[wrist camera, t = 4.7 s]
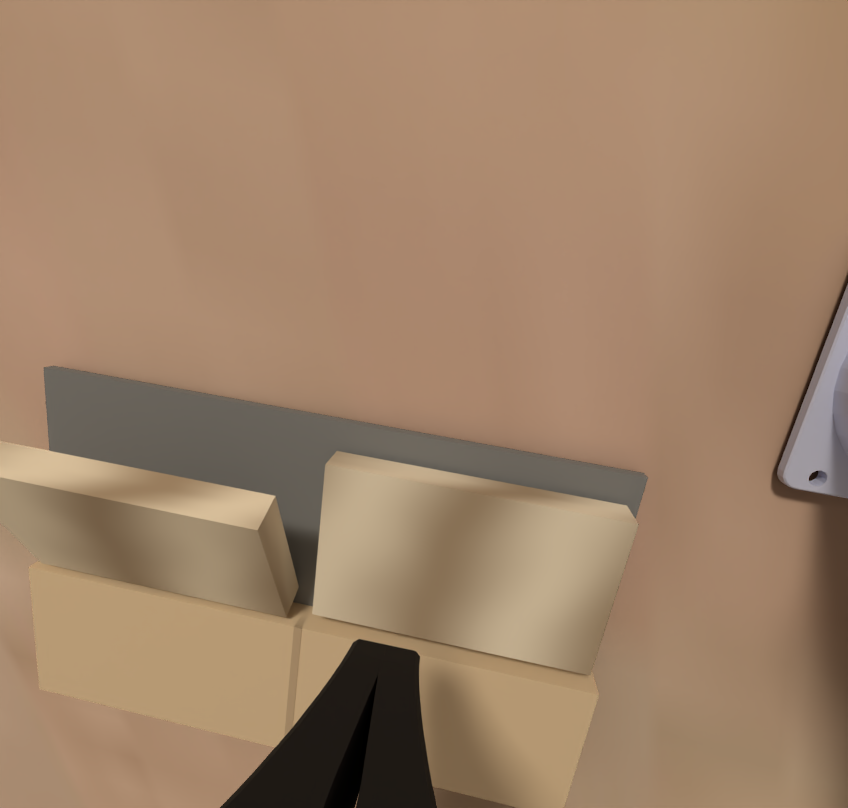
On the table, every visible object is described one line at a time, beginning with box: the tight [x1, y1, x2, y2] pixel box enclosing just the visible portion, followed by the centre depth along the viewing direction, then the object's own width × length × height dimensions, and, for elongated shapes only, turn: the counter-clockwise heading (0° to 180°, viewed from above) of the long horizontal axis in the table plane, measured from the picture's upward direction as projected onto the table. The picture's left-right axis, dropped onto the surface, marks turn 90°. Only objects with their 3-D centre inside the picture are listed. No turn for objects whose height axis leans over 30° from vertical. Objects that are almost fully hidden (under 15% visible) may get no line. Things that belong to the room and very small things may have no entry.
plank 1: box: [0, 441, 299, 618], centre depth 15 cm, size 10×6×1 cm, turn 81°
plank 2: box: [312, 451, 639, 675], centre depth 16 cm, size 10×6×1 cm, turn 81°
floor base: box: [28, 366, 648, 808], centre depth 17 cm, size 22×14×2 cm, turn 81°
